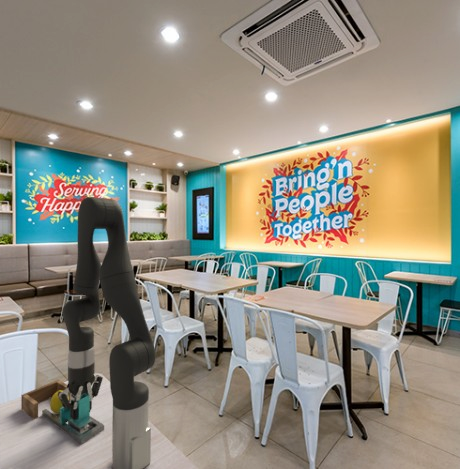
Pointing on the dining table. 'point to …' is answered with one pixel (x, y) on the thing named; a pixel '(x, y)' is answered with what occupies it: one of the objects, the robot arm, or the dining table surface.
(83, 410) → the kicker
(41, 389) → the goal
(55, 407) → the lemon
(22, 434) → the dining table surface
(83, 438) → the rails
